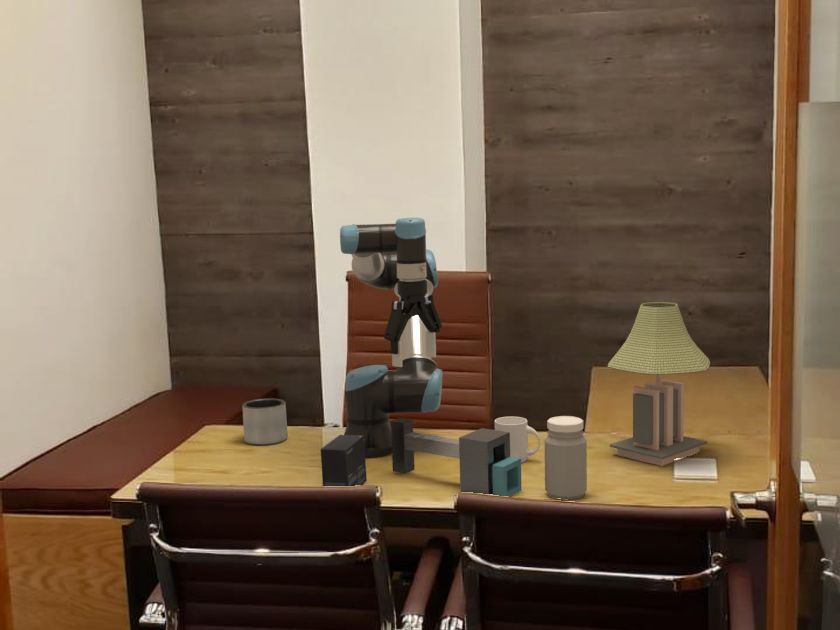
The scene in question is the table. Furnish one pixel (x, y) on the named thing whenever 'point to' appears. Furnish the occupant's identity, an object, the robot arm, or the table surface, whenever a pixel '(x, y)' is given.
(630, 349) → the desk lamp
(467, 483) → the block
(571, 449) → the jar
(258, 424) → the planter
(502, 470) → the collar
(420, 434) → the shaft
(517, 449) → the mug
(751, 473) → the table surface
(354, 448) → the small box
